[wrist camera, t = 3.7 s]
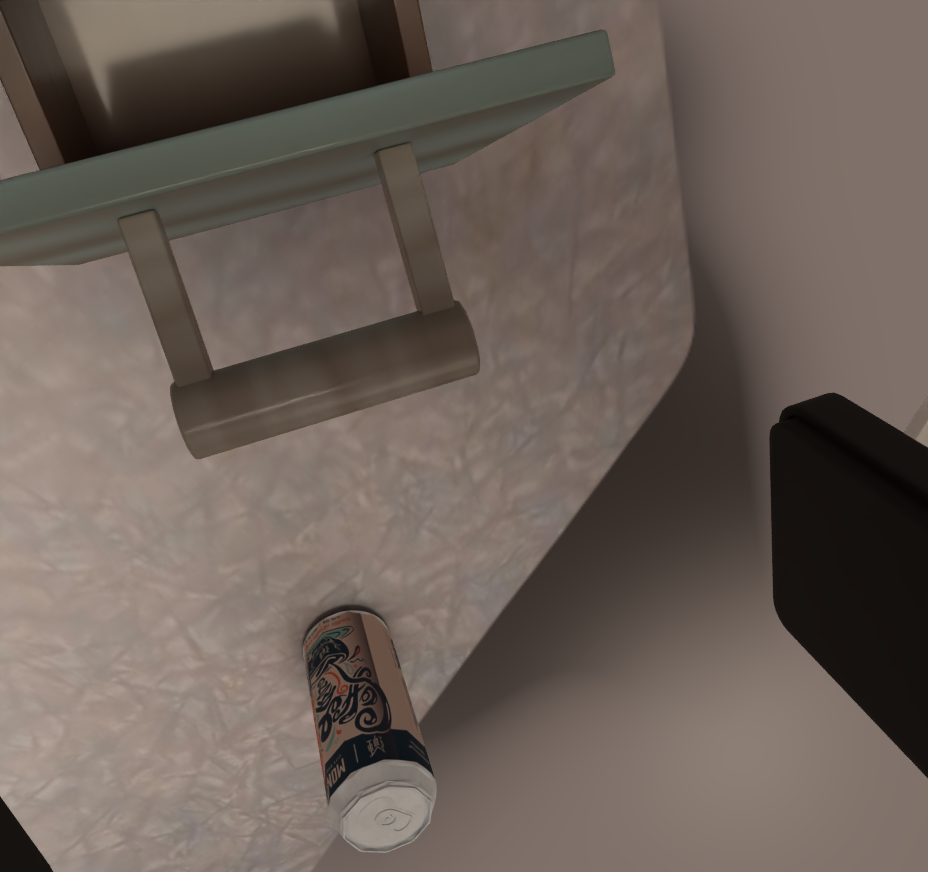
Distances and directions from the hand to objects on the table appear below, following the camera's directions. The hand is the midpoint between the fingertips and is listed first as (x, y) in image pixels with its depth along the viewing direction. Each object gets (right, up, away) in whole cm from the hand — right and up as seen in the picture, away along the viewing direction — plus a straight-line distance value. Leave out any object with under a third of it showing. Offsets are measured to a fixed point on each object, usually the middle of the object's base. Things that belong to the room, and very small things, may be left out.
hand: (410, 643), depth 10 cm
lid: (-4, +9, +11) cm, 15 cm away
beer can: (-6, -9, +37) cm, 39 cm away
